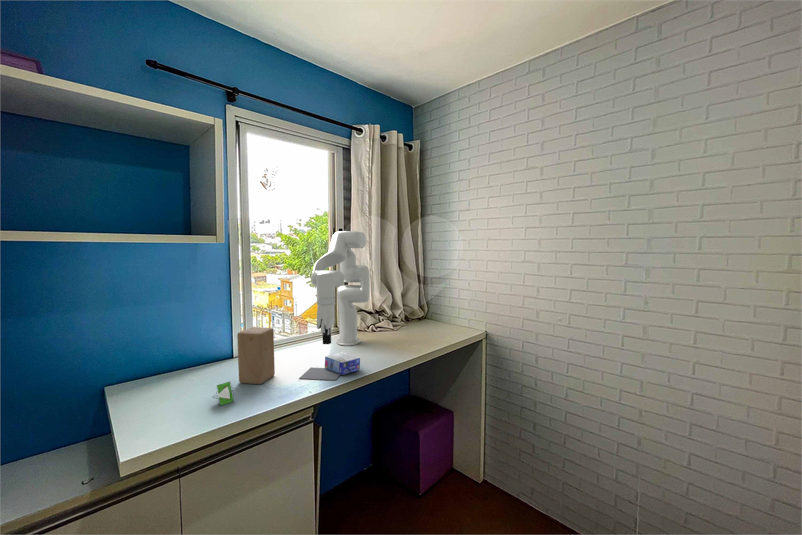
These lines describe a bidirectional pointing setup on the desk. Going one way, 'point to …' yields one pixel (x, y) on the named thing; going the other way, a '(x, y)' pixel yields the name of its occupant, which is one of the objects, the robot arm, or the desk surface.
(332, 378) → the mat
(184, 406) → the desk surface
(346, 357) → the ink cartridge box
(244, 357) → the wooden block
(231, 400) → the geometric puzzle
